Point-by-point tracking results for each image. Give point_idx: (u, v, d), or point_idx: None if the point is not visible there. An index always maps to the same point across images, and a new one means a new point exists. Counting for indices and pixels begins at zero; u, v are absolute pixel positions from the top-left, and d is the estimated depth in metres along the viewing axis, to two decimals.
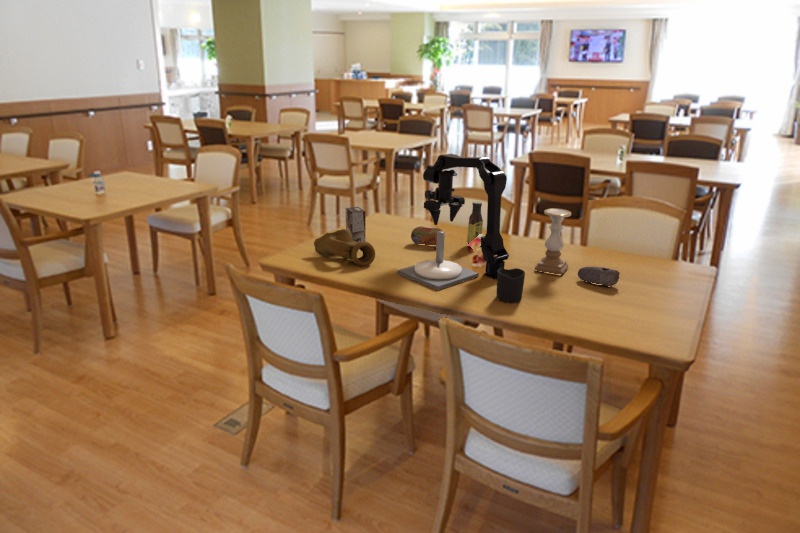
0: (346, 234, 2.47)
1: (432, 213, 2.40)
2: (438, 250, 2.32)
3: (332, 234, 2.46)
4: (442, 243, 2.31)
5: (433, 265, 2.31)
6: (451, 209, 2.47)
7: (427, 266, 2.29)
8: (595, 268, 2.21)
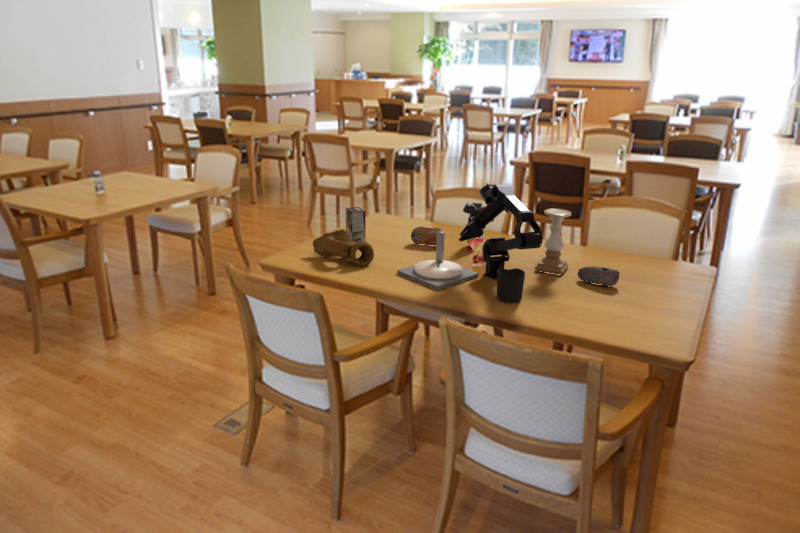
0: (345, 234, 2.47)
1: (467, 232, 2.23)
2: (438, 250, 2.32)
3: (331, 234, 2.46)
4: (442, 243, 2.31)
5: (433, 265, 2.31)
6: None
7: (427, 266, 2.29)
8: (595, 268, 2.21)
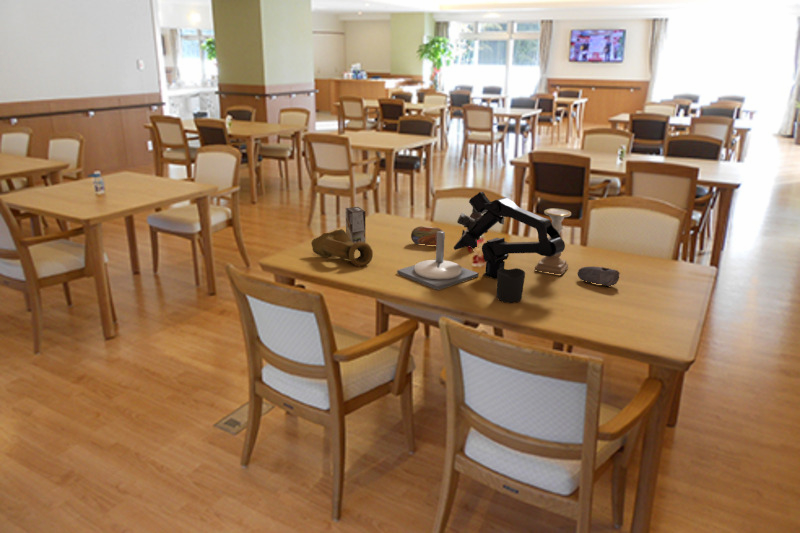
0: (344, 234, 2.47)
1: (462, 240, 2.28)
2: (438, 250, 2.32)
3: (330, 234, 2.46)
4: (442, 243, 2.31)
5: (433, 265, 2.31)
6: None
7: (427, 266, 2.29)
8: (595, 268, 2.22)
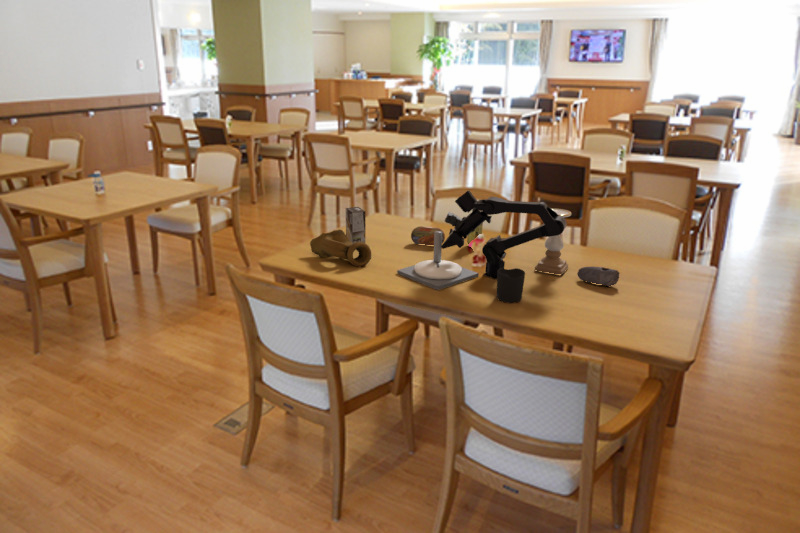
0: (342, 234, 2.46)
1: (449, 239, 2.29)
2: (436, 250, 2.32)
3: (329, 235, 2.46)
4: (440, 243, 2.31)
5: (432, 265, 2.30)
6: None
7: (426, 267, 2.28)
8: (595, 268, 2.22)
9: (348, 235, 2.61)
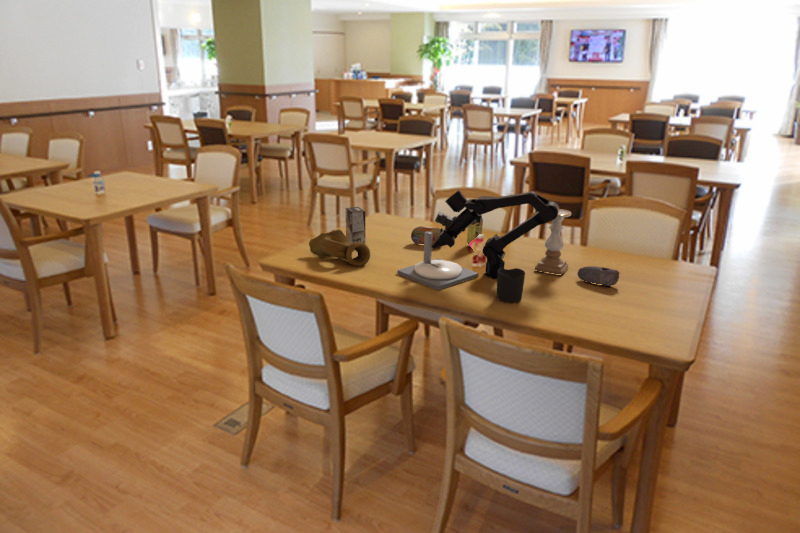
0: (341, 234, 2.46)
1: (440, 239, 2.28)
2: (428, 251, 2.31)
3: (327, 235, 2.46)
4: (431, 243, 2.31)
5: (430, 266, 2.29)
6: None
7: (428, 269, 2.26)
8: (595, 268, 2.22)
9: (348, 235, 2.61)
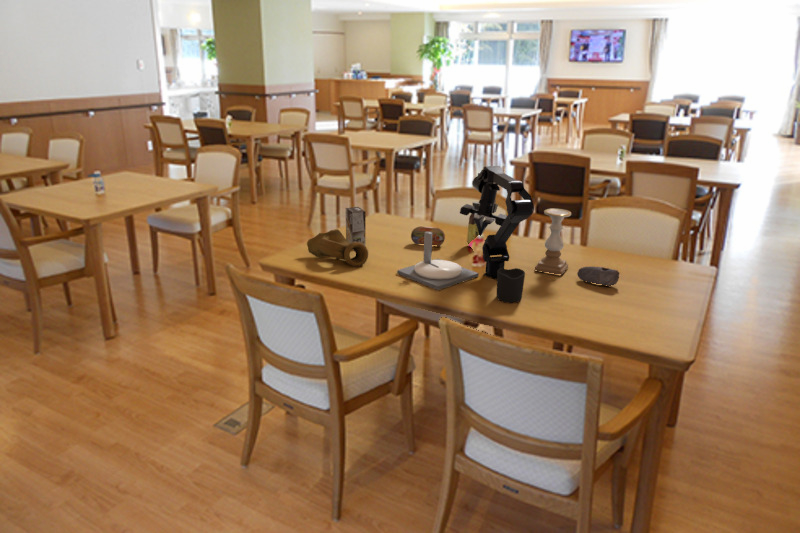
0: (339, 234, 2.46)
1: None
2: (428, 251, 2.31)
3: (325, 235, 2.45)
4: (431, 243, 2.31)
5: (430, 266, 2.29)
6: None
7: (428, 269, 2.26)
8: (595, 268, 2.22)
9: (348, 235, 2.61)
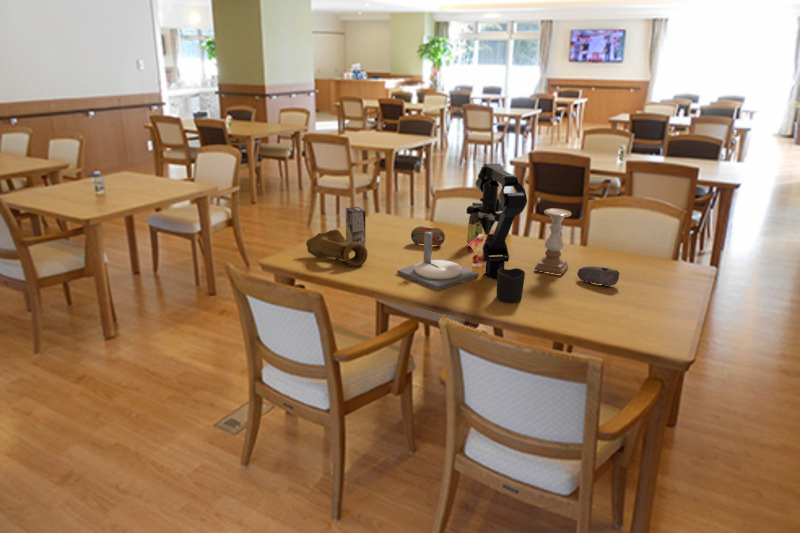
0: (338, 234, 2.46)
1: None
2: (428, 251, 2.31)
3: (325, 235, 2.45)
4: (431, 243, 2.31)
5: (430, 266, 2.29)
6: None
7: (428, 269, 2.26)
8: (595, 268, 2.22)
9: (348, 235, 2.61)
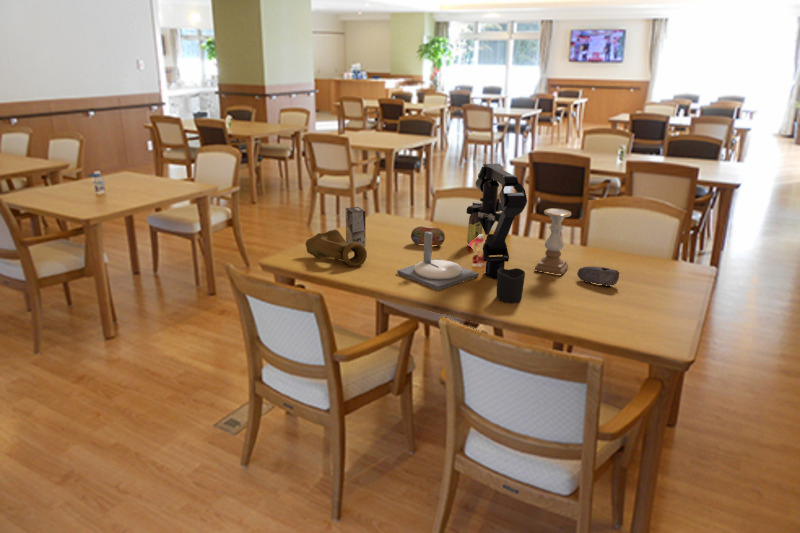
0: (338, 234, 2.46)
1: None
2: (428, 251, 2.31)
3: (324, 235, 2.45)
4: (431, 243, 2.31)
5: (430, 266, 2.29)
6: None
7: (428, 269, 2.26)
8: (595, 268, 2.22)
9: (348, 235, 2.61)
